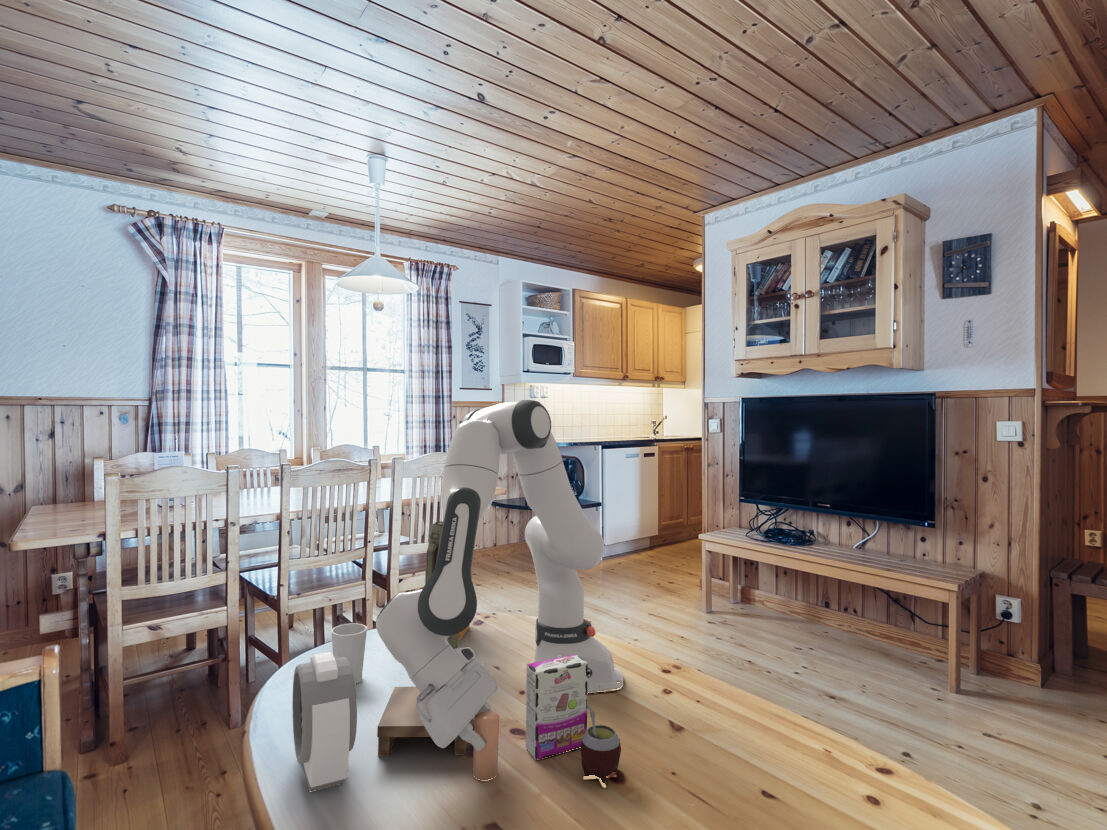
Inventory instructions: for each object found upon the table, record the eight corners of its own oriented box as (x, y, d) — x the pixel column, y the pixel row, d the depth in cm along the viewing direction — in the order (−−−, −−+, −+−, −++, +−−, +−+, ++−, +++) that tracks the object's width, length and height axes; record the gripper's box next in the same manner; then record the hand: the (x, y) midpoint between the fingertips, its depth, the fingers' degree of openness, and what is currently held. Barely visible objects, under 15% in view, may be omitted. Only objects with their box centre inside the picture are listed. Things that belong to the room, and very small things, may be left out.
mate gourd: (613, 764, 110) (615, 682, 110) (626, 791, 102) (628, 703, 102) (574, 767, 109) (576, 684, 109) (583, 794, 101) (585, 705, 101)
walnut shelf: (470, 714, 127) (471, 686, 127) (464, 758, 111) (465, 725, 111) (394, 715, 126) (394, 686, 126) (376, 759, 110) (377, 726, 110)
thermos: (413, 663, 152) (416, 525, 152) (436, 647, 163) (439, 518, 163) (444, 669, 149) (448, 528, 149) (465, 651, 160) (469, 520, 160)
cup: (359, 688, 138) (360, 635, 138) (324, 687, 138) (325, 634, 138) (370, 673, 146) (371, 623, 146) (337, 672, 146) (339, 622, 146)
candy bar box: (574, 735, 120) (576, 652, 120) (587, 747, 115) (589, 662, 115) (523, 748, 114) (525, 662, 115) (534, 762, 110) (537, 672, 110)
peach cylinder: (498, 766, 108) (499, 711, 108) (497, 781, 104) (499, 723, 104) (473, 766, 108) (475, 711, 108) (472, 781, 104) (473, 723, 104)
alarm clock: (290, 752, 111) (292, 643, 111) (338, 740, 115) (340, 635, 115) (302, 808, 96) (305, 681, 96) (357, 793, 100) (360, 671, 100)
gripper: (424, 689, 98) (478, 760, 95) (474, 644, 118) (520, 701, 115) (399, 712, 99) (451, 782, 96) (453, 663, 119) (498, 721, 116)
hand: (489, 738), depth 106 cm, fingers closed on peach cylinder, 4 cm apart
